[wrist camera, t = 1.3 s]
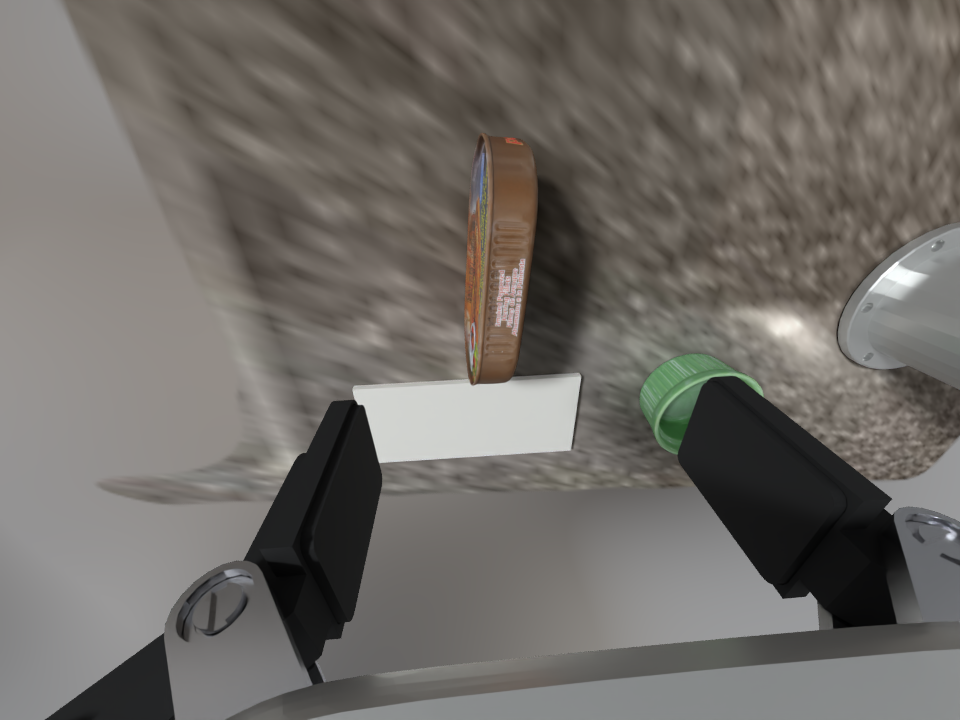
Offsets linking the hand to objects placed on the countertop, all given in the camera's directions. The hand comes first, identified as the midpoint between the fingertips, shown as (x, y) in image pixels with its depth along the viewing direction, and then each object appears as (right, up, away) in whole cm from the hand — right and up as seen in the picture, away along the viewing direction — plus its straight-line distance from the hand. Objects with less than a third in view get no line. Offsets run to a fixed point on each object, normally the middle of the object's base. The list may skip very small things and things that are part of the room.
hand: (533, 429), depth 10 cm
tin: (-1, +10, +16) cm, 19 cm away
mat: (-2, -4, +23) cm, 24 cm away
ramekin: (+17, -1, +23) cm, 29 cm away
